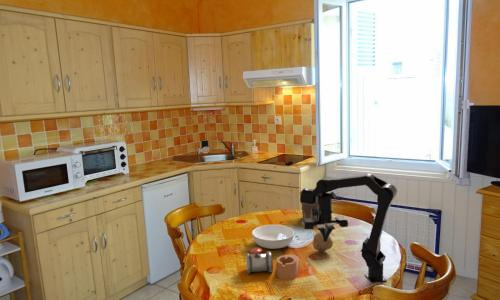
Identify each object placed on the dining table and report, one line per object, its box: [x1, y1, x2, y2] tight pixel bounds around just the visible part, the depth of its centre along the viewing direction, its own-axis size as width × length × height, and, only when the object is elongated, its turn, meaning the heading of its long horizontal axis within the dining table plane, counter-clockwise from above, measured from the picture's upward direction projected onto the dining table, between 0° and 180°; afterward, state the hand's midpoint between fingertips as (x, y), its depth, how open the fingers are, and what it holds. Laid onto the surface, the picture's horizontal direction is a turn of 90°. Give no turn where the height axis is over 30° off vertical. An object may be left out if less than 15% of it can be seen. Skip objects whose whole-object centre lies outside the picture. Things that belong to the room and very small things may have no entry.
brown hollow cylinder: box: [276, 254, 300, 281], centre depth 158 cm, size 18×8×7 cm, turn 166°
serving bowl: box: [251, 224, 295, 250], centre depth 183 cm, size 21×21×7 cm
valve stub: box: [245, 247, 274, 274], centre depth 157 cm, size 10×9×10 cm
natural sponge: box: [312, 231, 334, 253], centre depth 173 cm, size 9×9×10 cm
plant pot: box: [298, 188, 328, 221], centre depth 217 cm, size 16×16×16 cm
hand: (324, 241), depth 158 cm, fingers closed
